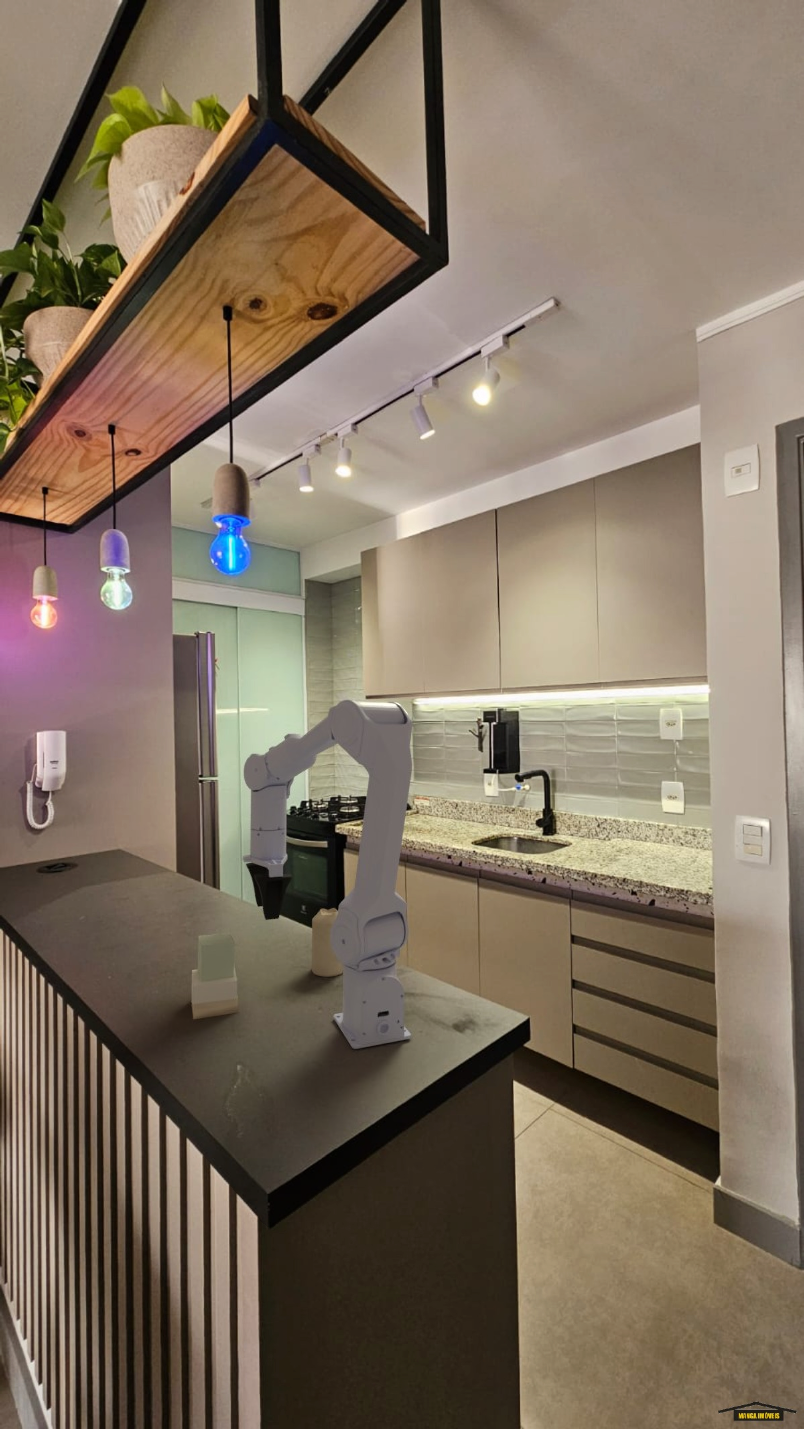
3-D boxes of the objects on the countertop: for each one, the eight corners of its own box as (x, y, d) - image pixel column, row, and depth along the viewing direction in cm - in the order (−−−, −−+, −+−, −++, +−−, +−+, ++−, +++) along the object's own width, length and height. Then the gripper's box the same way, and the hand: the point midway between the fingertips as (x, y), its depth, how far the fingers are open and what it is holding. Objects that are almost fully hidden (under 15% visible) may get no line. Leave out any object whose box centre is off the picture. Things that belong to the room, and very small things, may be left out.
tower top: (237, 998, 89) (237, 980, 89) (192, 1004, 87) (192, 985, 87) (233, 981, 95) (234, 965, 95) (191, 986, 93) (192, 969, 93)
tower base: (237, 1014, 90) (238, 997, 90) (193, 1021, 87) (193, 1003, 88) (233, 997, 95) (233, 981, 95) (191, 1003, 93) (191, 986, 93)
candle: (305, 973, 104) (305, 912, 104) (324, 962, 109) (324, 903, 109) (333, 979, 101) (333, 916, 102) (351, 968, 106) (351, 908, 106)
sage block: (233, 977, 91) (234, 941, 91) (200, 981, 89) (201, 945, 89) (228, 965, 95) (229, 932, 95) (197, 970, 93) (198, 935, 93)
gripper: (237, 822, 108) (236, 902, 108) (250, 836, 95) (249, 928, 94) (278, 820, 111) (278, 898, 110) (296, 834, 97) (295, 922, 97)
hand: (267, 912), depth 103 cm, fingers open, 7 cm apart
